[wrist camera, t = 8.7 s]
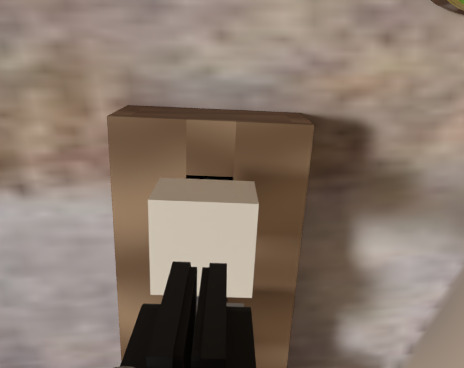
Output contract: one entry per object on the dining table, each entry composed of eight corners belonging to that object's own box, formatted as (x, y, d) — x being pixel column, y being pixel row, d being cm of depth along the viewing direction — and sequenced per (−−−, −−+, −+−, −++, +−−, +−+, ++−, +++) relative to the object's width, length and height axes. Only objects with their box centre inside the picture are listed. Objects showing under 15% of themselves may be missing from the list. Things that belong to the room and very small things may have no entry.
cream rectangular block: (172, 153, 20) (147, 199, 14) (249, 157, 20) (258, 204, 14) (173, 223, 21) (150, 294, 15) (245, 226, 21) (251, 298, 15)
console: (127, 105, 22) (106, 116, 18) (299, 112, 22) (314, 125, 19) (142, 462, 32) (131, 518, 28) (264, 465, 32) (268, 521, 28)
